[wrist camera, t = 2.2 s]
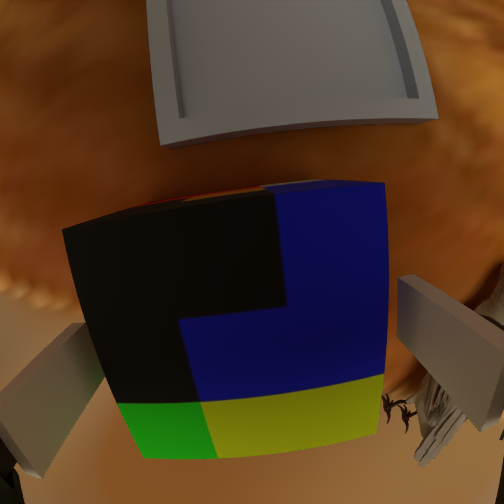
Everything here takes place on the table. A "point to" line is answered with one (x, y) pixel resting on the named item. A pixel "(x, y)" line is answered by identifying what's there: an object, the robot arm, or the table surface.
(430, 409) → the decorative bird
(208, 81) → the tray
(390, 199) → the table surface
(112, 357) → the puzzle toy
